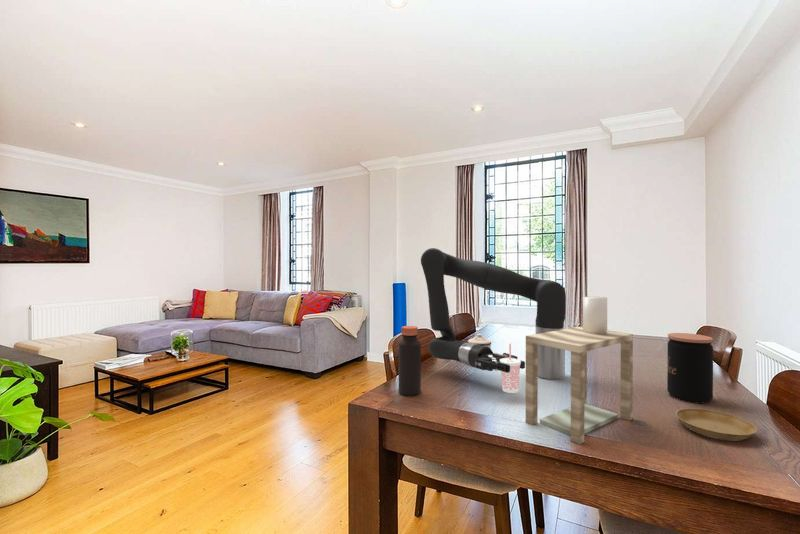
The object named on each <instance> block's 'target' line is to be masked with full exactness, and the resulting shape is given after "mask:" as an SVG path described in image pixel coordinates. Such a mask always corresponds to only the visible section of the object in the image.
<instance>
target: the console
mask: <svg viewBox="0 0 800 534" xmlns="http://www.w3.org/2000/svg"><path fill="white" fill-rule="evenodd" d="M618 344H620V391H619V392H620V394H619V395H620V400H619V401H620V402H619V403H620V404H619V405H620V413H619V414H618V413H616V412H613V411H609V410H606V409H604V408H599V407H597V406H594V405H591V404H588V403H587V402H588V401H587V400H588V399H587V398H588V394H587V392H588V389H587V388H588V385H587V384H588V381H587V380H588V379H587V378H588V374H587V373H588V372H587V371H588V351H589V352H590V351H593V350H598V349H602V348H606V347H609V346H610V347H611V346H614V345H618ZM538 345H543V346H548V347H553V348H558V349H563V350H565V351H568V352H569V351H570V407H568V408H565V409H563V410H560V411H558V412H555V413H552V414H550V415H546V416H544V417H541V418H539V424H541V425H542V426H543V425H544V426H546V427H549V428H551V429H554V430H556V431H558V432H562V433H563V434H566V435H569V436H570V442H572V443H575V444H577V445H581V444H584V443H585V434H586V433H587V434H588V433H589V432H592V431H593V430H596V429H598V428H600V427H603V426H604V425H607V424H608V423H611V422H613V421H615V420H618V419H619V415H620V419H623V420H625V421H631V420H633V418H634V417H633V416H634V415H633V414H634V413H633V409H634V407H633V406H634V405H633V404H634V403H633V402H634V401H633V400H634V399H633V397H634V395H633V393H634V391H633V390H634V387H633V385H634V382H633V381H634V380H633V379H634V374H633V373H634V372H633V370H634V365H633V364H634V334H633V333H627V332H622V331H621V332H620V331H615V330H614V331H613V330H608V329H607V334H591V333H586V332H583V326H575V327H569V328H564V329H563V330H557V331H551V332H545V333H539V334H536V333H535V334H529V335H525V423H526V424H528V425H531V426H534V425H537V424H538V411H539V409H538V408H539V407H538V396H539V395H538V394H539V393H538V389H539V388H538V387H539V386H538V383H539V381H538V379H539V377H538Z"/></svg>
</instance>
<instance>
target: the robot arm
mask: <svg viewBox="0 0 800 534" xmlns="http://www.w3.org/2000/svg"><path fill="white" fill-rule="evenodd" d="M420 264H421V268H422V270H423V271H422V272H423V274H424V278H425V282H426V288H427V297H428V308H429V320H430V327H431V330H433V331H436V332H440V335H441V336H439V337H435V338H434V337H433V338H432V339H431V340H430V341H429V343H428V344H427V345H428V346H427V347H428V352H429V353H430V355H431V356H432V357H434V358H437V359H440V360H450V361H455V362H459V363H462V364H464V365H466V366H469V367H472V368H475V369H478V370H482V371H487V372H488V371H489V372H493V370H494V371H497V372H498V371H500V372H501V371H503V372H506V373H509V372H510V365H508V364H504V363H501V362H500V359H502V358H509V353H508V352H507V353H506V352H503V353H502V354H500V353H498V352H493V350H492V348H491V349H490V348H489V347H487V346H482V345H478V344H474V343H467V342H468V341H467V342H466V341H462V340H457V339H456V336H455V333H454V331H453V328H452V326H451V320H450V311H449V304H448V300H447V299H448V298H447V295H446V289H445V288H446V287H445V276H448V277H454V278H457V279H459V280H461V281H463V282H465V283H468V284H471V285H473V286H475V287H478V288H481V289H485V290H489V291H492V292H495V293H500V294H501V293H502V294H506V295H507V294H508V295H515V296H520V297H524V298H527V299H529V300H531V301H532V302H535V303H536V316H535V317H536V318H535V334H539V333H545V332H551V331H557V330H563V329H565V322H566V321H565V320H566V312H567V311H566V309H567V307H566V305H567V298H566V297H567V296H566V295H567V294H566V289H565V288H564V286H563V285H562V284H561V283H559V282H557V281H554V280H550V279H549V280H548V279H540V278H535V277H529V276H526V275H522V274H519V273H518V272H515V271H513V270H511V269H507V268H505V267H502V266H499V265H496V264H492V263H489V262H485V261H484V262H483V261H478V260H470V259H463V258H459V257H457V256H454V255H451V254H448V253H446V252H444V251H442V250H440V249H438V248H435V247H431V248H428V249H426V250H425V251H424V252H423V253H422V254H421V258H420ZM511 358H515V359H518V356H517V355H513V354H511ZM519 360H520V361H521V364H520V370H524V369H526V361H523V360H521V359H519ZM565 376H566V350H563V349H558V348H553V347H548V346H543V345H538V378H542V379H546V380H561V379H564V378H565Z"/></svg>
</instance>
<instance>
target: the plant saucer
mask: <svg viewBox="0 0 800 534" xmlns="http://www.w3.org/2000/svg"><path fill="white" fill-rule="evenodd" d="M675 416H676V418H677V419H679V421H680V422H681V423H682V424H683V426H685V427H686V428H687V429H688V428H689V429H688V430H690V431H691V430H692V431H691V432H693V431H694V433H695V432H696V434H698V435H700V434H701V436H703V437H706V436H707V437H706V438H710V437H711V438H710V439H715V440H719V439H720V440H719V441H725V440H726V442H727V441H728V442H741V441H744V440H746V439H749V438H750V437H752V436H753V435H754V434H756V433H757V431H758V428H757V426H755V425H754V424H753V423H752V422H749V421H748V420H747V419H744V418H741V417H738V416H736V415H733V414H729V413H726V412H723V411H722V412H721V411H717V410H711V409H706V408H681V409H678V410H676V412H675ZM690 421H692V422H694V423H696V424H697V425H698V426H699V425H700V426H701V427H700V426H699V427H698V426H697V425H696V426H695V424H694V423H693V424H694V425H692V424H690V423H687V422H690ZM715 423H716V424H715ZM711 424H712V425H711ZM714 424H715V425H716V426H718V425H719V426H720V427H719V426H718V428H719V429H718V428H717V430H716V429H715V430H714V429H713V428H712V427H714V426H715V425H714ZM710 425H711V426H712V427H711V426H710ZM713 425H714V426H713ZM705 426H706V427H705ZM708 426H710V427H711V428H712V430H711V429H710V428H709V427H708ZM709 429H710V430H709Z"/></svg>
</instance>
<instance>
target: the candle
mask: <svg viewBox="0 0 800 534" xmlns="http://www.w3.org/2000/svg"><path fill="white" fill-rule="evenodd" d="M582 327H583V332H586V333H591V334H607V330H608V297H605V296H583V297H582Z"/></svg>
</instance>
